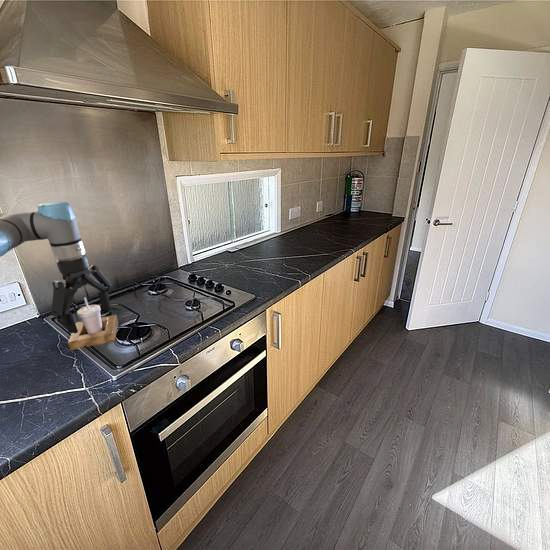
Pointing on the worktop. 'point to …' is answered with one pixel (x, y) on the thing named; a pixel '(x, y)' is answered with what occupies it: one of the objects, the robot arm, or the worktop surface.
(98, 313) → the smoothie
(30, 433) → the worktop surface
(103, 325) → the wooden tray
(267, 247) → the worktop surface
